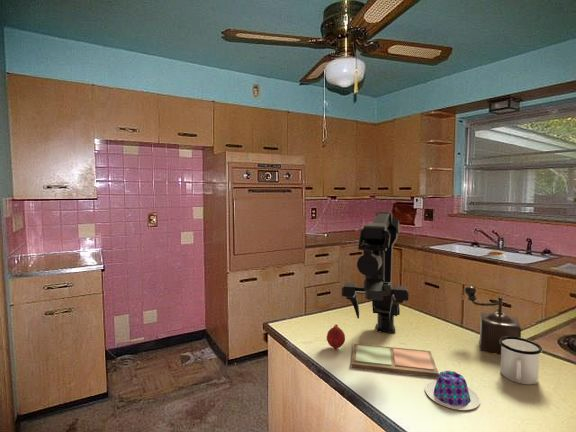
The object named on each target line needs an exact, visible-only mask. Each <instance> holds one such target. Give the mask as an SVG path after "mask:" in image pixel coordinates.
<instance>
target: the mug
mask: <svg viewBox="0 0 576 432" xmlns="http://www.w3.org/2000/svg"><path fill="white" fill-rule="evenodd" d="M499 343H500V345H501V355H500V368H499V369H500V373H501V375H502V376H503V377H505V378H506V379H508V380H510V381H512V382H515V383H518V384H522V385H536V384H537V383H538V382H539V376H540V375H539V372H540V370H539V369H540V354H541V353H542V352H543V348H542V346H541V345H540V344H538V343H537V342H535V341H533V340H531V339H528V338H525V337H521V338H520V337H513V336H506V337H502V338H500V339H499Z"/></svg>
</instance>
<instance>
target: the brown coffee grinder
mask: <svg viewBox="0 0 576 432" xmlns="http://www.w3.org/2000/svg"><path fill="white" fill-rule="evenodd" d="M463 292H464V293H465V294H466V296H467V301H470V303H472V305H473V304H474V305H475V306H482V307H483V306H485V307H488V306H489V307H490V306H491V307H492V306H493V307H494V306H498V309H497V310H496V311H494V312H493V311H492V312H485V311H484V312H483V311H481V312H480V327H479V329H480V330H479V348H480V350H481V352H483V353H488V354H493V355H499V356H501V345H500V343H499V339H500V338H502V337H506V336H513V337H520V338H522V328H521V325H520V322H519V319H518V317H517V316H512V315H509V314H507V313H505V312H503V311H502V310H503V304H504V301H503V300H504V298H503V297H502V296H499V297H498V298H497V300H498V301H497V302H477V301H476V300H477V299H478V298H477V296H476V293H477V288H476V287H475V286H472V285H468V286H466V287H464V288H463Z"/></svg>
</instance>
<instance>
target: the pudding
mask: <svg viewBox="0 0 576 432" xmlns="http://www.w3.org/2000/svg"><path fill="white" fill-rule="evenodd" d="M438 373H439V376H438V378H437V379H436V380H432V381H429V382H427V384H425V387H424V388H425V389H424V390H425V393H426V394H427V396H428V397H429V398H430V399H431V400H433V401H434V402H435V403H437V404H439V405H441V406H444V407H446V408H449V409H453V410H458V411H459V410H460V411H467V410H468V411H469V410H474V409H476V408H477V407H479V405H480V402H481V400H480V397H479V395H478V394H477V393H476V392H475V391H474V390H473V389H471V388H469V387H468V384H467V380H466V379H465V377H464V376H463V375H462V374H460V373H458V372H455V371H452V370H451V371H450V370H444V371H440V372H438ZM468 403H469V404H468Z"/></svg>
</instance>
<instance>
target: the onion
mask: <svg viewBox="0 0 576 432" xmlns="http://www.w3.org/2000/svg"><path fill="white" fill-rule="evenodd" d="M326 342H327V343H328V345H329V346H330V347H331V348H333V349H334V350H338V349H339V348H341V347H343V345H344V343H345V342H346V335H345V332H344V331H343V329H341V328H340V327H339V325H338V324H337V323H336V324H334V325H333V327H332V328H330V329H329V330H328V331H327V335H326Z"/></svg>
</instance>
